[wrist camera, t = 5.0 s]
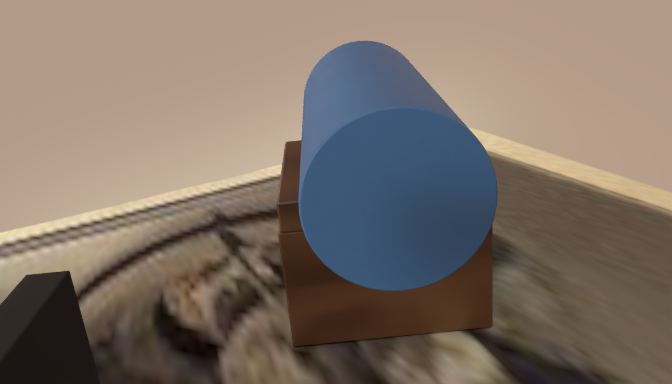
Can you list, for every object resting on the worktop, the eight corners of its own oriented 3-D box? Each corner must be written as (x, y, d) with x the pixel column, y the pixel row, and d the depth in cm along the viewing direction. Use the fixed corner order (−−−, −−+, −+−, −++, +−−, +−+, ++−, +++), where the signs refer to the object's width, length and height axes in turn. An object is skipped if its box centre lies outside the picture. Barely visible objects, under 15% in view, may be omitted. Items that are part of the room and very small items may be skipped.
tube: (498, 282, 19) (498, 96, 17) (309, 300, 19) (287, 116, 17) (424, 151, 31) (419, 34, 29) (310, 162, 31) (297, 46, 29)
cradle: (492, 327, 25) (492, 182, 23) (293, 347, 25) (273, 203, 23) (451, 241, 32) (448, 125, 30) (297, 256, 32) (283, 141, 30)
